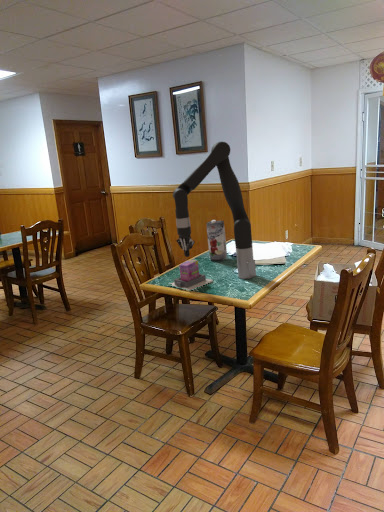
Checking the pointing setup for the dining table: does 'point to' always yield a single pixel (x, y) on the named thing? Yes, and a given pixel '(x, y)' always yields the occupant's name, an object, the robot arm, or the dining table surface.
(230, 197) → the robot arm
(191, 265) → the box
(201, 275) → the board
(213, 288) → the dining table surface
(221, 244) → the juice carton
